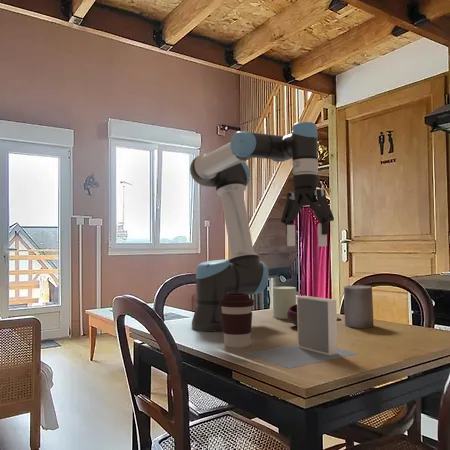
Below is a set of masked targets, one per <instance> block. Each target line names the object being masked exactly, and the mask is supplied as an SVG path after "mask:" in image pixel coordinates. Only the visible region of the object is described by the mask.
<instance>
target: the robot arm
mask: <svg viewBox="0 0 450 450" xmlns="http://www.w3.org/2000/svg"><path fill="white" fill-rule="evenodd" d="M318 134H319V133H318V126H317V124H316V123H315V122H311V121H300V122H295V123H294V124H293V125H292V128H291V133H289V134H286V135H279V134H278V135H277V134H268V133H260V132H259V133H258V132H251V131H247V130H246V131H236V132H235V133H233V136H232V137H231V139H230V142H228V143H226V144H224V145H222V146H220V147H219V148H217V149H214V150H213V151H211V152H209V153H205V152H204V153H200V154H198V155H197V156H195V157H194V158H193V159H192V161H191V163H190V165H189V166H190V167H189V172H190V176H191V178H192V179H193V180H194V181H195V183H197V184H198V185H201V186H202V187H203V186H204V187H209V188H210V187H211V188H215V191H216V195H218V196H219V197H220V198H221V204H222V209H223V216H224V222H225V228H226V233H227V234H226V235H227V241H228V245H229V247H228V248H229V252H230V257H229V258H228V259H217V260H216V259H214V260H207V261H203V262H200V263H198V264H197V265H196V270H195V271H196V272H195V279H196V280H195V285H196V307H195V311H194V314H193V316H192V321H191V329H193V330H195V331H201V332H219V331H220V332H221V331H222V332H223V330H222V318H221V312H222V308H221V306H220V305H219V300H220V299H223V298H224V295H225V294H229V293H245V294H248V295H250V296H251V295H252V296H253V295H257V294H260V293H261V294H262V292H263V291H265V289H266V287H267V284H268V283H269V278H270V277H269V276H270V275H269V268H268V266H267V264H266V263H265V262H263V261H260V256H259V254H258V253H256V252H255V251H254V246H253V241H252V235H251V230H250V224H249V219H248V212H247V207H246V202H245V197H244V193H245V191H246V189H247V187H248V186H249V183H250V177H251V175H250V172H251V171H250V169H249V166H248V164H247V161H249V160H251V159H255V158H256V159H265V160H266V159H268V160H271V161H273V162H276V163H278V162H285V161H289V160H292V174H293V176H292V187H293V189H294V192H287V194H286V195H287V196H286V202H285V205H284V209H283V213H282V216H281V219H280V222H281V224H284V225H285V234H286V243H287V244H286V246H287V247H295V246H296V225H295V221H296V219H297V217H298V215H299V213H300V211H301V209H302V208H304V207H308V206H309V207H310V208H311V209H312V211H313V213H314V214H315V216H316V217H317V219H318V221H319V222H318V223H317V228H318V229H317V231H318V232H317V238H318V240H317V241H318V243H317V244H318V246H317V247H327V246H328V235H329V223H330V222H333V221H335V218H334V214H333V212H332V210H331V207H330V204H329V202H328V199H327V195H326V190H325V189H323V188H319V176H318V173H319V163H318V162H319V158H318V156H319V154H318V153H319V146H318V145H319V143H318V142H319V141H318V139H319V136H318ZM317 188H318V189H317Z"/></svg>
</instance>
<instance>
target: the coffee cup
mask: <svg viewBox="0 0 450 450" xmlns="http://www.w3.org/2000/svg"><path fill="white" fill-rule="evenodd" d="M254 304H255V300H254V299H253V298H250V296H249V295H248V294H245V293H229V294H225V295H224V298H223V299H220V300H219V305H220V306H221V308H222V312H221V318H222V330H223V331H222V333H223V344H224V345H223V346H225V347H227V348H235V349H237V348H245V347H246V348H247V347H249V346H250V345H251V333H252V325H253V324H252V323H253V311H252V310H253V309H252V307H253V306H254Z"/></svg>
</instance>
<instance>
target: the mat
mask: <svg viewBox="0 0 450 450" xmlns="http://www.w3.org/2000/svg"><path fill="white" fill-rule="evenodd" d="M358 354H359V353H358V352H353V351H350V350H346V349H342V348H338V347H337V354H334V355H326V354H323V353H319V352H315V351H311V350H308V349H304V348H300V347H298V343H295V344H290V345H283V346H278V347H273V348H267V349H261V350H255V351H250V352H244V353H243V355H246V356H250V357H252V358H256V359H259V360H262V361H264V362H268V363H271V364H274V365H277V366H280V367H283V368H286V369H293V368H297V367H303V366H306V365H307V366H308V365H312V364H317V363H321V362H325V361H331V360H335V359H339V358H344V357H349V356H354V355H358Z"/></svg>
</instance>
